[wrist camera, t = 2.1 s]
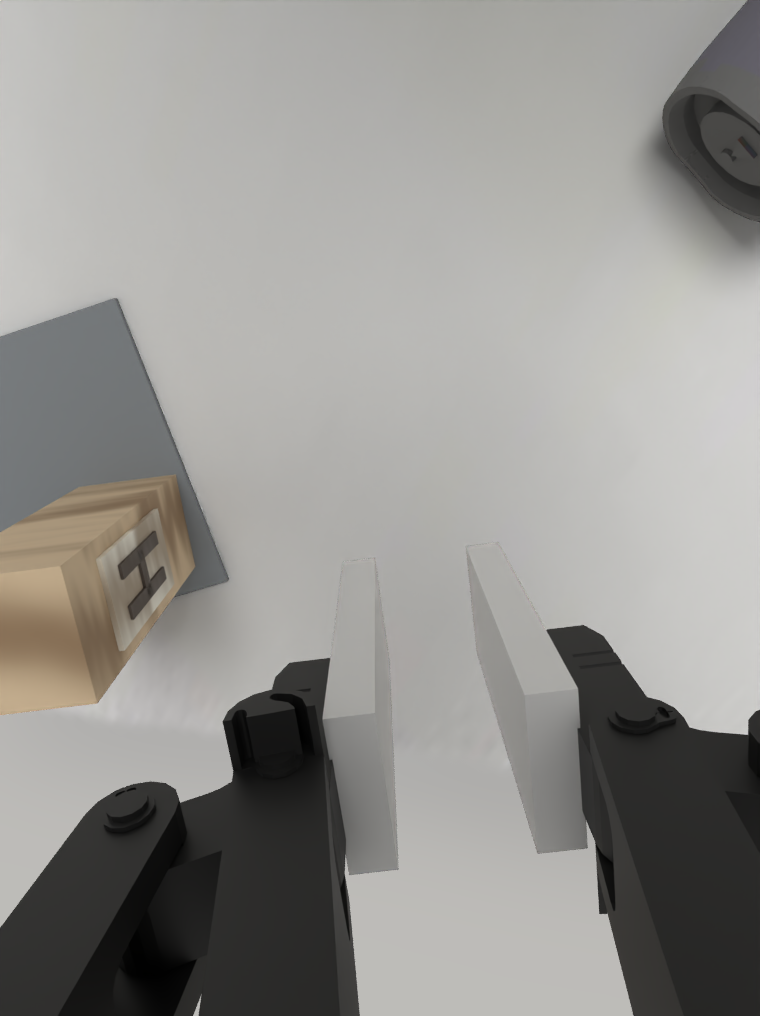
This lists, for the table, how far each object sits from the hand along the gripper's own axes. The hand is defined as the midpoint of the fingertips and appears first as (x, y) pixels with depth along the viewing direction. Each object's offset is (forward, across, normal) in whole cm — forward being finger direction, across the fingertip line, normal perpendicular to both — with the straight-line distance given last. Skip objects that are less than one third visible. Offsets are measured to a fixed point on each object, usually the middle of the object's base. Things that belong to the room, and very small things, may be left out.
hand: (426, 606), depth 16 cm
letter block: (+26, -17, -4) cm, 31 cm away
